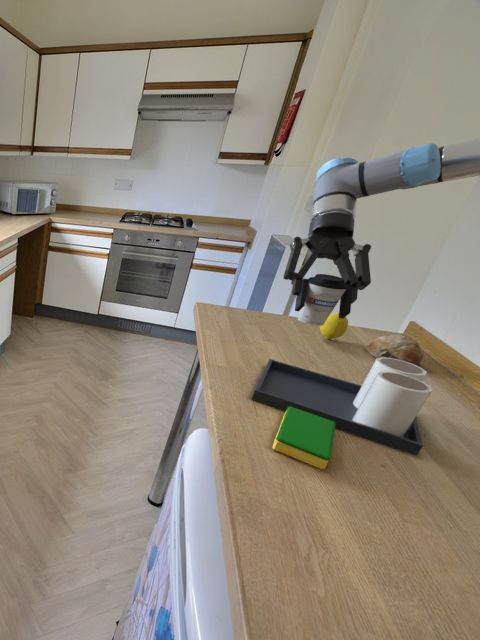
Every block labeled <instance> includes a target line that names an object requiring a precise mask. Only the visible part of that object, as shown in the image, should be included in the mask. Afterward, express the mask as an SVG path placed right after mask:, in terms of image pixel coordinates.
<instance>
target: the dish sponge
mask: <svg viewBox="0 0 480 640" xmlns="http://www.w3.org/2000/svg"><path fill="white" fill-rule="evenodd" d="M335 426H336V423H335V422H334V421H331V420H328V419H325V418H322V417H319V416H316V415H313V414H311V413H308V412H305V411H302V410H299V409H296V408H293V407H288V408H287V411H285V413H284V414H283V418H282V420H281V422H280V426H279V428H278V431H277V433H276V436H275V438H274V440H273V443H272V446H271V449H273V450H274V451H276V452H279V453H281V454H283V455H286V456H289V457H291V458H294V459H296V460H298V461H301V462H303V463H306V464H308V465H311V466H314V467H316V468H318V469H320V470H325V469H326V468H327V465H328V464H329V461H330V460H331V455H332V449H333V444H334V438H335V432H336V428H335Z"/></svg>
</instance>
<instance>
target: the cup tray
mask: <svg viewBox="0 0 480 640" xmlns="http://www.w3.org/2000/svg"><path fill="white" fill-rule="evenodd" d="M265 365H266V366H265V368H264V370H263V372H262V374H261V376H260V378H259V381H258V383H257V385H256V387H255V389H254V392H253V394H252V396H251V400H253V401H255V402H258V403H261V404H265V405H267V406H271V407H274V408H276V409H278V410H282V411H284V412H286V411H287V408H288V407H293V408H296V409H299V410H302V411H305V412H308V413H311V414H313V415H316V416H319V417H322V418H325V419H328V420H331V421H334V422H335V423H336V426H335V429H337V430H340V431H342V432H345V433H348V434H351V435H355V436H357V437H359V438H363V439H366V440H369V441H372V442H374V443H377V444H380V445H383V446H386V447H388V448H392V449H395V450H398V451H401V452H403V453H406V454H409V455H412V456H415V457H417V456H418V455H419V453H420V451H421V450H422V449H423V447H424V444H423V443H424V442H423V439H422V435H421V430H420V425H419V421H418V417H417V416H416V417H415V419H414V420H413V422H412V424H411V425H410V427H409V428H408V430H407V431H406V433H405V435H404V436H403V437H400V436H397V435H394V434H391V433H388V432H385V431H382V430H379V429H375V428H372V427H369V426H366V425H363V424H360V423H357V422H354V421H353V420H352V419H353V417H354V415H355V413H356V411H357V410H358V408H356V407H355V406H354V405H353V401H354V399H355V397H356V395H357V393H358V392H359V390H360V388H361V386H362V384H359V383H358V384H357V383H354V382H351V381H347V380H344V379H341V378H337V377H334V376H330V375H326V374H323V373H319V372H316V371H313V370H309V369H306V368H303V367H299V366H296V365H292V364H288V363H285V362H281V361H278V360H274V359H271V358H269V359H268V361H267V363H266V364H265Z"/></svg>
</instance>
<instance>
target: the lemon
mask: <svg viewBox="0 0 480 640" xmlns="http://www.w3.org/2000/svg"><path fill="white" fill-rule="evenodd" d="M348 327H349V319H348V318H347V316H346V317H345V318H343V319H342V318H339V312H335V313H334V312H333V313H331V314H330V315H329V317H328V318H327V320H326V322H325V323H324V325H322V326H319V332H320V333H321V335H322V336H324V337H325V339H326V340H332V339H338V338H340V337H342V336H343V335H344V334H345V333H346V331H347V329H348Z"/></svg>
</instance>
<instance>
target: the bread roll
mask: <svg viewBox="0 0 480 640" xmlns="http://www.w3.org/2000/svg"><path fill="white" fill-rule="evenodd" d="M366 349H367V352H368V353H369V354H370V355H371V356H372V357H374V358H375V359H377V358H379V357H386V358H393V359H398V360H402V361H406V362H409V363H411V364H414V365H416V366H418V365H419V364H421V362H422V361H423V359H424V357H425V352H424V349H423V347H421V346H420V344H419V343H418V342H417V341H416V340H414V339H413V338H412V337H410V336H407V335H403V334H392V335H383V336H377V337H376V338H374V339H372V340H371V342H370V343H369V344H368V346H367V348H366Z"/></svg>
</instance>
